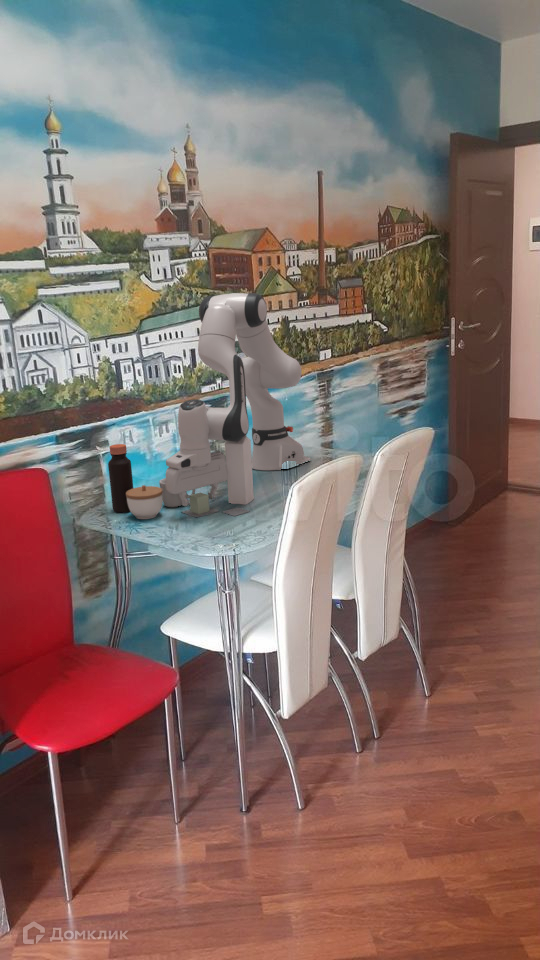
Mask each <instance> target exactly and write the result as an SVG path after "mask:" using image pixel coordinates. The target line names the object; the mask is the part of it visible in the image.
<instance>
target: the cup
mask: <svg viewBox="0 0 540 960" xmlns="http://www.w3.org/2000/svg"><path fill="white" fill-rule="evenodd" d="M159 488H161V489H162V490H163V493H162V494H163V503H162V504H163V505H164V506H165V507H167V508H178V506H179V507H181V505H182V506H183V504H182V499H181V498H180V497H179V495H178V494H172V493H169V492H168V491H167V489H166V477H164V478H162V479H160V480H159ZM191 491H192V492H191V494H188V491H186V495H184V496H185V497H186V499H190V498H189V495H193V494H196V489H193V490H191Z"/></svg>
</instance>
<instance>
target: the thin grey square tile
mask: <svg viewBox="0 0 540 960" xmlns="http://www.w3.org/2000/svg"><path fill="white" fill-rule="evenodd" d="M218 511H219V510H218V509H215V508H211V507H209V511H208V512H204V513H201V514H197V513H194V512H191V511H190V508H189V509H186V510H183V511H181V512H182V513H181V514H184V513H185V515H187V514H188V516H191V517H193V516H194V517H193V518H196V517H198V518H200V517H204V515H205V516H208V515H211V514H214V513H218Z"/></svg>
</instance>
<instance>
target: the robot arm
mask: <svg viewBox="0 0 540 960" xmlns="http://www.w3.org/2000/svg"><path fill="white" fill-rule="evenodd" d="M267 314H268V307H267V303H266V299H264V297H263V296H262V295H261V294H259V293H254V292H249V293H247V292H246V293H242V292H232V293H224V294H219V295H215V294H213V295H209V296H206V297H204V298H203V299H202V300H201V301H200V304H199V307H198V317H199V320H200V323H201V326H200V331H199V336H198V344H197V353H198V357H199V358H200V361H202V363H204V365H205V366H207V367H208V368H210V369H212V370H214V371H216V372H218V373H221V374H223V375H225V376H227V379H228V387H229V405H228V406H227V407H212V406H206V403H205V401H203V400H201V399H191V400H185V401H184V402H182V403H180V405H179V407H178V411H177V412H178V414H177V415H178V416H177V425H178V426H177V427H178V436H179V437H180V444H179V450H178V451H177V452H176V453H175V454H173V455H171V456H170V457H168V458H166V460H165V465H166V467H167V469H166V471H165V478H166V489H167V491H168V492H169V493H172V494H178V495H179V497H180V498H181V499H182V504H183V505H182V506H184V507H187V506H190V498H187V499H186V497H185V496H184V495H186V492H189V491H192V490H193V489H195V490H197V489H201V488H204V487H208V486H209V487H210V491H208V493H207V495H208V499H209V500H213V499H216V492H217V491H218V488H219V484H221V483H224V482H226V481H227V478H228V474H227V468H226V454H224V453H223V452H222V451H220V450H219V451H215V452H212V451H211V443H210V440H211V441H225V442H226V441H232V442H238V441H240V440H241V439H242V438H243V437H244V436H245V435H246V436H247V434H248V433H249V427H250V426H249V425H250V424H249V416H248V409H247V401H248V402H249V406H250V410H251V417H252V428H251V437H252V444H253V446H252V455H251V457H252V470H257V471H282V470H281V468H282V464H283V463H284V462H286V461H296V462H297V463H296V464H301V463H303V462H306V461H309V460H311V461H312V459H311V457H310V456H306V455H305V451H304V447H303V445H302V444H301V443H300V442H298V441H297V440H295V439H294V438H292V437H291V436H290V435H289V433H293V432H294V428H293V426H289V425H288V426H286V425H285V418H284V406H283V404H282V402H281V401H280V400H278V399H277V398H275V397H274V396H272V395H271V394H270V392H269V390H268V389H279V390H280V389H281V390H282V389H287V388H293V387H296V386H297V385H298V384H299V382H300V381H301V379H302V374H303V373H302V371H303V370H302V368H301V364H300V362H299V361H298V360H297V359H296V358H293V357H291V356H290V355H288V354H287V353H286V352H284V351H283V350H282V349H281V348H280V347H279V345H278V344H276V342H275V340H274V338H273V336H272V333H271V331H270V328H269V325H268V321H267ZM236 337H237V341H238V345H239V347H240V350H241V351H242V352H243V354H244V355H246V356H245V357H241V356H239V355H237V351H236ZM288 432H289V433H288Z"/></svg>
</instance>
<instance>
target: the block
mask: <svg viewBox="0 0 540 960" xmlns="http://www.w3.org/2000/svg"><path fill="white" fill-rule="evenodd" d="M188 495H189V498H188V499H189V500H190V502H189V503H190V505H189V506H190V507H189V509H190V511H191V512H194V513H197V514H201V513H204V512H208V511H209V508H210V501H209V500H210V499H209V498H208V496H209V495H208V493H203V492H197V493H196V492H195V494H193V495H191V494H188Z"/></svg>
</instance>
